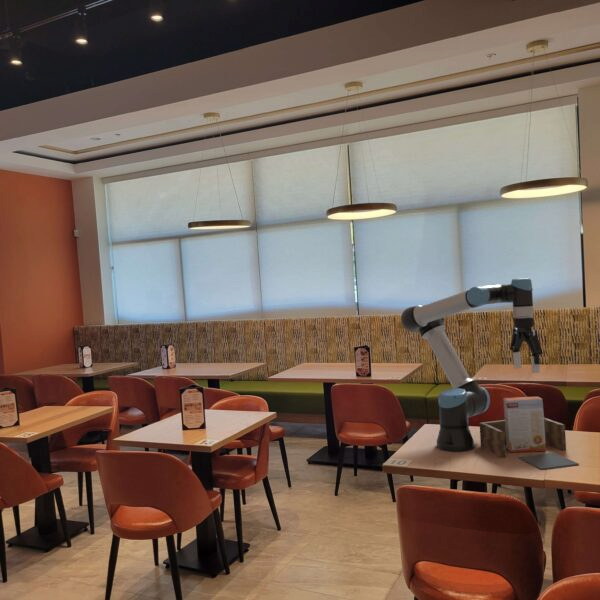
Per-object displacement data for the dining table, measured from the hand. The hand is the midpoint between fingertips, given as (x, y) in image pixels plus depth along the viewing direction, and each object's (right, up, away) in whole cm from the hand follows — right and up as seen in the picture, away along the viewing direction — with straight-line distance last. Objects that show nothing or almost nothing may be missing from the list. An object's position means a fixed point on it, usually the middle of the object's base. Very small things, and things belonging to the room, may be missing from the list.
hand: (526, 370), depth 229 cm
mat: (+2, -32, -15) cm, 35 cm away
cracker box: (0, -32, +1) cm, 32 cm away
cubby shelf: (0, -32, +4) cm, 32 cm away
